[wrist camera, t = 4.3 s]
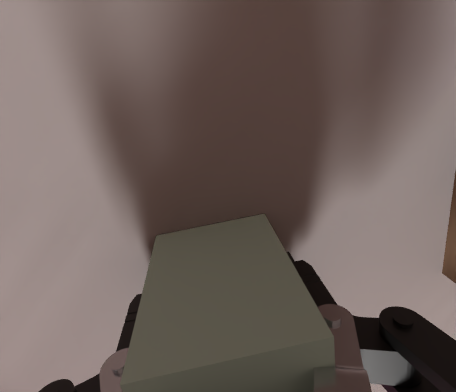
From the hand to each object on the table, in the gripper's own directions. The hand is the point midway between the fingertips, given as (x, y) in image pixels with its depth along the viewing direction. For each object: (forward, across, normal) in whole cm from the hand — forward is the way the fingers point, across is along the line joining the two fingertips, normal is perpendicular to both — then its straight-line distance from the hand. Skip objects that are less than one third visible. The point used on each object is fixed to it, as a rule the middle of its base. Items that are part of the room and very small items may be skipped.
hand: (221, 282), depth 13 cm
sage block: (+1, 0, 0) cm, 1 cm away
